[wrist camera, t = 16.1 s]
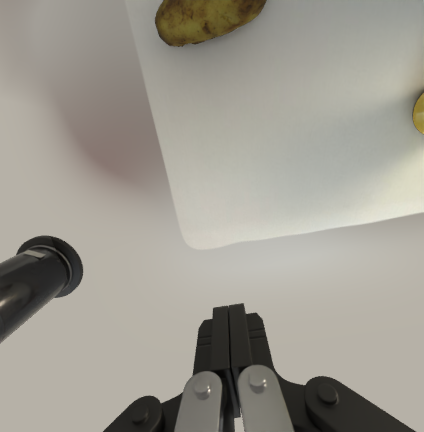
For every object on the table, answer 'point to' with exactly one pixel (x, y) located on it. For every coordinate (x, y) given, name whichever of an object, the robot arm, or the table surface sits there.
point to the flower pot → (419, 114)
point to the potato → (202, 19)
